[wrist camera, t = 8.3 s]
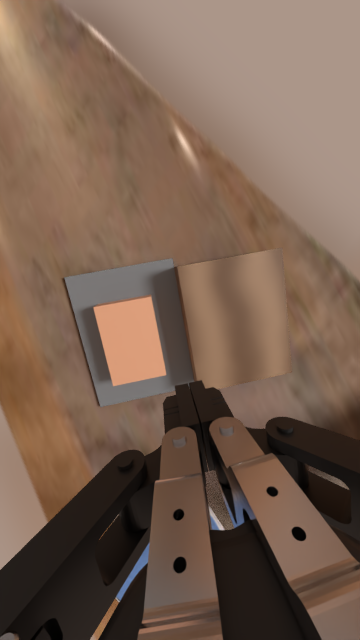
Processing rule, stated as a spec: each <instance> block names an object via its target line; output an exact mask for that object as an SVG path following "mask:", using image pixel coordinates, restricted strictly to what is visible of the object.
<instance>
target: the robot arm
mask: <svg viewBox="0 0 360 640" xmlns="http://www.w3.org/2000/svg"><path fill="white" fill-rule="evenodd" d="M189 388H190V389H189ZM175 391H176V395H174V396H169V397H166V399H165V401H164V402H163V410H164V425H165V435H164V437H163V439H162V445H161V446H160V447H159V448H158V449H157V450H155V451H154V452H152V453H150V454H148V455H146V456H144V455H143V453H142V452H140V451H138V450H128V451H124V452H122V453H120V454H118V455H117V456H115V457H114V458H113V459H112V460H111V461H110V462H109V463H108V464H107V465H106V466H105V467H104V468H103V469H102V470H101V471H100V472H99V473H98V474H97V475H96V476H95V477H94V478H93V479H92V480H91V481H90V482H89V483H88V484H87V485H86V486H85V487H84V488H83V489H82V490H81V491H80V492H79V493H78V494H77V495H76V496H75V497H74V498H73V499H72V500H71V501H70V502H69V503H68V504H67V505H66V506H65V507H64V508H63V509H62V510H61V511H60V512H59V513H58V514H57V515H56V516H55V517H54V518H53V519H52V520H50V521H49V522H48V523H47V524H46V525H45V526H44V527H43V528H42V529H41V531H39V532H38V533H37V534H36V535H35V536H34V537H33V538H32V539H31V540H30V541H29V542H28V543H27V544H26V545H25V546H24V547H23V548H22V549H21V551H19V552H18V553H17V554H16V555H15V556H14V557H13V558H12V559H11V560H10V561H9V562H8V563H7V564H6V565H5V566H4V567H3V568H2V569H1V570H0V640H90V638H91V637H92V635H93V634H94V632H95V630H96V629H97V627H98V625H99V624H100V622H101V620H102V619H103V617H104V616H105V614H106V612H107V611H108V609H109V607H110V606H111V604H112V602H113V601H114V599H115V598H116V596H117V594H118V593H119V591H120V589H121V588H122V586H123V584H124V583H125V581H126V580H127V578H128V576H129V575H130V573H131V571H132V570H133V568H134V566H135V565H136V563H137V562H138V560H139V558H140V557H141V555H142V553H143V552H144V550H145V549H146V547H147V545H148V544H149V555H148V563H147V564H146V565H145V566H144V567H143V568H142V569H141V570H140V571H139V572H138V574H137V575H136V576H135V578H134V579H133V580H132V582H131V583H130V585H129V586H128V588H127V590H126V591H125V593H124V595H123V597H122V598H121V600H120V602H119V604H118V606H117V607H116V609H115V611H114V613H113V615H112V616H111V618H110V620H109V622H108V623H107V625H106V627H105V629H104V631H103V632H102V634H101V636H100V638H99V639H98V640H360V441H359V440H356V439H353V438H350V437H347V436H344V435H341V434H338V433H335V432H332V431H329V430H326V429H322V428H319V427H316V426H313V425H310V424H307V423H304V422H301V421H298V420H295V419H292V418H288V417H276V418H273V419H271V420H269V421H268V422H267V424H266V429H252V428H247V427H245V426H244V425H243V423H242V422H241V421H240V420H238V419H236V418H234V416H233V414H232V412H231V411H230V409H229V407H228V405H227V403H226V402H225V400H224V398H223V396H222V394H221V392H220V391H219V390H217V389H216V388H214V387H211V388H205V386H204V384H203V382H202V380H199V381H195V382H190V383H189V386H188V383H185V384H181V385H176V386H175ZM205 456H206V457H205ZM206 460H207V462H206ZM207 463H208V467H209V470H210V471H212V470H215V471H216V474H217V479H218V485H219V489H220V491H221V494H222V497H223V499H224V502H225V504H226V507H227V510H228V512H229V515H230V517H231V520H232V522H233V525H234V529H232V530H212V525H211V518H210V512H209V505H208V498H207V492H206V477H205V472H208V468H207ZM308 465H309V466H311V467H314V468H316V469H318V470H320V471H323V472H325V473H327V474H329V475H332V476H334V477H336V478H338V479H340V480H341V481H343V482H344V483H345V484H346V485H347V486H348V488H349V489H350V490H347V489H345V488H343V487H341V486H339V485H337V484H334V483H332V482H330V481H328V480H326V479H324V478H322V477H319V476H317V475H315V474H313V473H311V472H309V471H308ZM118 514H119V516H118V517H117V515H118ZM116 517H117V518H116ZM115 518H116V519H115ZM114 519H115V521H114V522H113V520H114ZM112 522H113V523H112ZM111 523H112V525H111V526H110V527H109V525H110V524H111ZM108 527H109V528H108ZM107 528H108V530H107V531H106V532H105V530H106V529H107ZM104 532H105V533H104ZM103 533H104V535H103V536H102V534H103ZM101 536H102V537H101ZM100 537H101V539H100ZM99 539H100V540H99ZM149 542H150V543H149Z"/></svg>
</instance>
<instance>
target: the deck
mask: <svg viewBox="0 0 360 640" xmlns="http://www.w3.org/2000/svg"><path fill="white" fill-rule="evenodd" d="M174 270H175V276H176V282H177V287H178V293H179V299H180V304H181V310H182V315H183V321H184V327H185V332H186V338H187V344H188V349H189V355H190V360H191V366H192V372H193V377H194V381H199V380H202V382H203V384H204V386H205V388H211V387H214V388H216V389H220V388H224V387H229V386H233V385H238V384H242V383H247V382H251V381H256V380H260V379H264V378H269V377H273V376H278V375H282V374H287V373H291V372H292V365H291V353H290V340H289V327H288V315H287V302H286V289H285V277H284V264H283V251H282V248H278V249H272V250H267V251H261V252H256V253H250V254H245V255H239V256H233V257H228V258H222V259H217V260H211V261H206V262H200V263H195V264H189V265H184V266H178V267H174Z"/></svg>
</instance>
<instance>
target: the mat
mask: <svg viewBox="0 0 360 640" xmlns="http://www.w3.org/2000/svg"><path fill="white" fill-rule="evenodd" d="M64 278H65V282H66V285H67V289H68V293H69V296H70V300H71V303H72V307H73V311H74V314H75V318H76V321H77V325H78V328H79V332H80V336H81V339H82V343H83V346H84V350H85V354H86V357H87V361H88V364H89V368H90V371H91V375H92V379H93V382H94V386H95V389H96V393H97V397H98V400H99V404H100V407H103V406H108V405H112V404H117V403H121V402H126V401H130V400H135V399H139V398H144V397H148V396H153V395H157V394H162V393H166V392H171V391H175V386H176V385H181V384H185V383H188V386H189V383H190V382H194V377H193V372H192V366H191V360H190V355H189V349H188V344H187V338H186V332H185V327H184V321H183V315H182V310H181V304H180V299H179V293H178V287H177V282H176V276H175V270H174V265H173V259H172V258H171V259H166V260H160V261H154V262H149V263H143V264H138V265H132V266H126V267H121V268H115V269H109V270H104V271H98V272H93V273H87V274H81V275H76V276H70V277H64ZM146 295H151V297H152V302H153V307H154V312H155V317H156V322H157V327H158V333H159V338H160V343H161V348H162V353H163V358H164V363H165V369H166V375H165V376H160V377H155V378H150V379H145V380H141V381H136V382H131V383H126V384H122V385H117V386H113V383H112V379H111V375H110V371H109V368H108V364H107V360H106V356H105V352H104V348H103V344H102V340H101V336H100V332H99V328H98V324H97V320H96V316H95V312H94V308H93V307H95V306H96V305H98V304H102V303H107V302H113V301H118V300H124V299H129V298H135V297H140V296H146Z"/></svg>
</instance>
